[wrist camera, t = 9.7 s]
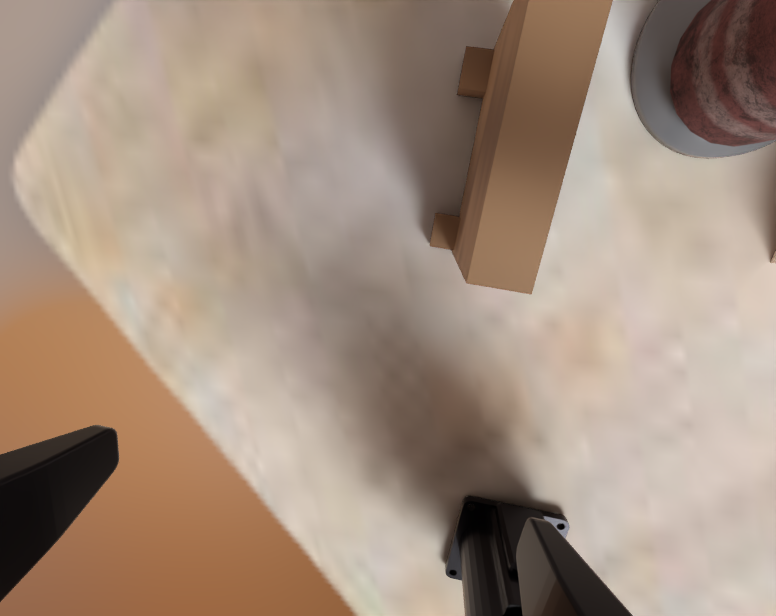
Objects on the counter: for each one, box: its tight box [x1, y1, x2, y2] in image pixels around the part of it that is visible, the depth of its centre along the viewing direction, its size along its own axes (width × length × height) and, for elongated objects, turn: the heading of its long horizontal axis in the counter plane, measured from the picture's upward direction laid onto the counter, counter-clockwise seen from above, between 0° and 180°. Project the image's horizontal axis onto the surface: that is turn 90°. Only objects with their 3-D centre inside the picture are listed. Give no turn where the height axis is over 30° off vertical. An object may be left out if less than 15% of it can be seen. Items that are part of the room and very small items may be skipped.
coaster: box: [631, 0, 776, 159], centre depth 15 cm, size 8×8×1 cm
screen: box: [430, 0, 613, 294], centre depth 14 cm, size 9×4×8 cm, turn 172°
